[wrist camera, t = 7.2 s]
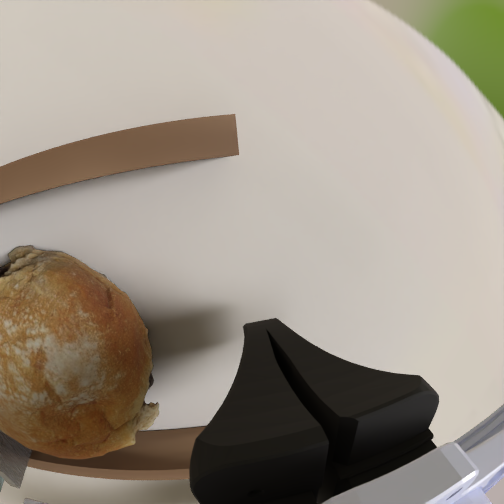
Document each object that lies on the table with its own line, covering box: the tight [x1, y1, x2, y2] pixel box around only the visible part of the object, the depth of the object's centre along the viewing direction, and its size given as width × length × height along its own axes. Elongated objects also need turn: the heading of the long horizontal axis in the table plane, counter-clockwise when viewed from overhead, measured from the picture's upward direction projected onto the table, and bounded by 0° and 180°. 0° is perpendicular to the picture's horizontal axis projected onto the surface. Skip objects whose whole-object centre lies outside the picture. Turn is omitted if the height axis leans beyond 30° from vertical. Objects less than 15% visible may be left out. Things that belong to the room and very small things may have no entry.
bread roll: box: [0, 246, 159, 459], centre depth 10 cm, size 10×10×8 cm
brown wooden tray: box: [0, 114, 239, 491], centre depth 9 cm, size 16×19×6 cm
